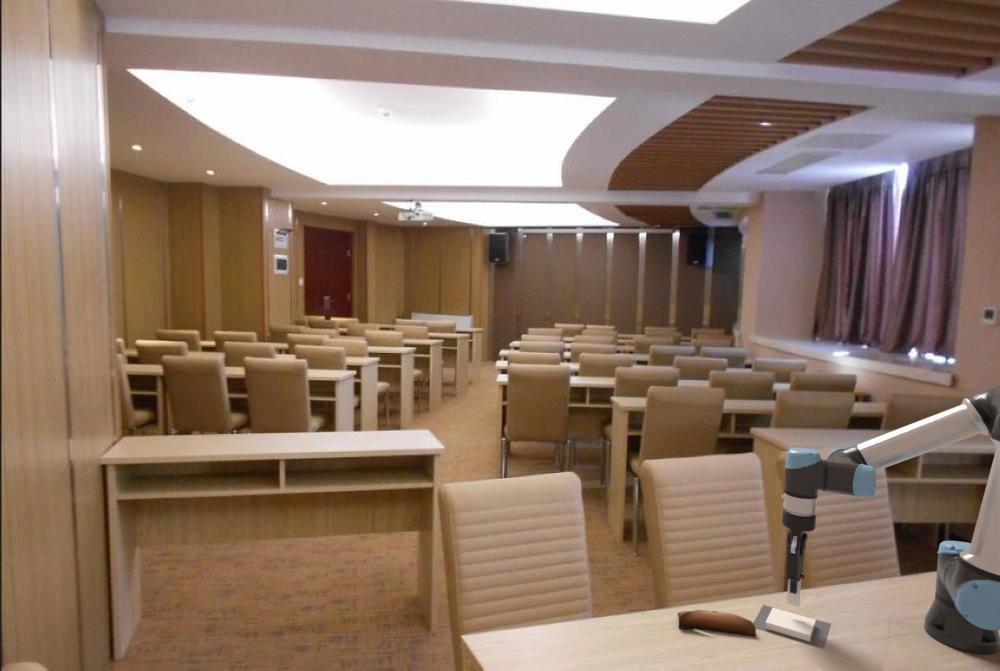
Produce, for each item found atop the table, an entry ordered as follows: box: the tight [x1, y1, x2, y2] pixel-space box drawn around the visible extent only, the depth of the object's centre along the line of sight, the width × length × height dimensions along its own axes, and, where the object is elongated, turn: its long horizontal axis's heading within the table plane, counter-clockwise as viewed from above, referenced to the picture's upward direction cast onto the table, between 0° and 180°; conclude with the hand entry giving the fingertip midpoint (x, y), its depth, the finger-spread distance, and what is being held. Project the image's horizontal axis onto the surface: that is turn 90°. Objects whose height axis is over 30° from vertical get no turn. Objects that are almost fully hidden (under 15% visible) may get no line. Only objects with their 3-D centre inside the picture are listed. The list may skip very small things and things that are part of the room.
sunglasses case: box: [677, 609, 757, 637], centre depth 158 cm, size 18×7×7 cm, turn 79°
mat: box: [753, 604, 832, 650], centre depth 158 cm, size 16×14×1 cm
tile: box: [765, 607, 817, 642], centre depth 157 cm, size 10×2×9 cm
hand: (793, 603), depth 159 cm, fingers closed
